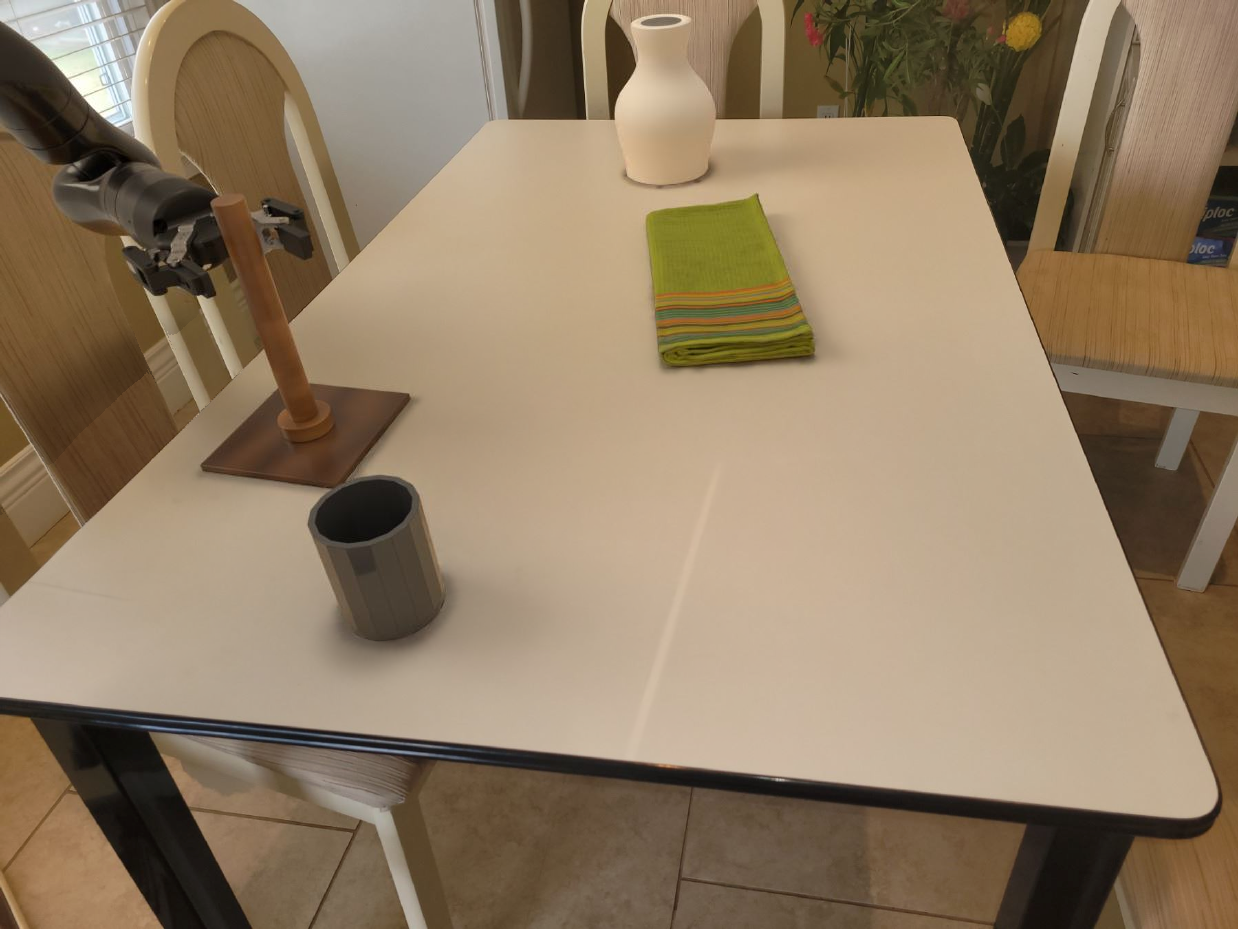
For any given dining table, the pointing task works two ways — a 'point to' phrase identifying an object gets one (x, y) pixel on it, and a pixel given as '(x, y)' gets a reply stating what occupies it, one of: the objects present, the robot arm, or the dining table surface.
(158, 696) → the dining table surface
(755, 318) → the dish towel
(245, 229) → the cylinder
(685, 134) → the vase
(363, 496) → the holder
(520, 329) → the dining table surface
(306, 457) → the board
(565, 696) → the dining table surface
